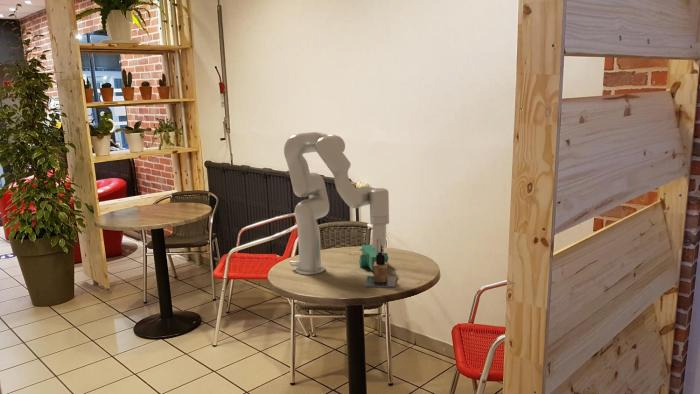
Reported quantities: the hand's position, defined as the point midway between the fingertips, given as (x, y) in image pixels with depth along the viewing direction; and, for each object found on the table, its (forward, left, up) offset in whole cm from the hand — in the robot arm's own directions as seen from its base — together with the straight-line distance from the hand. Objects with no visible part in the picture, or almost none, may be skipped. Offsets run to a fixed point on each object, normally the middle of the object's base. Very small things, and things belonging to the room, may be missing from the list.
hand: (380, 263), depth 211 cm
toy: (-6, +24, -8) cm, 26 cm away
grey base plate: (0, 0, -8) cm, 8 cm away
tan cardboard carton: (0, 0, -7) cm, 7 cm away
